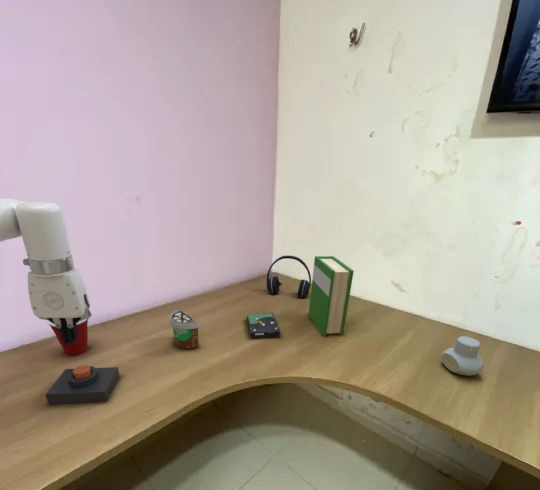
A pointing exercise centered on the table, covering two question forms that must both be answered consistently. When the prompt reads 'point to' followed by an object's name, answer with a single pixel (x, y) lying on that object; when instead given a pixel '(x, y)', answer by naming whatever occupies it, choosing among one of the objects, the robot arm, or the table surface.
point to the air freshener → (463, 357)
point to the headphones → (274, 281)
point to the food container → (184, 330)
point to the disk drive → (263, 325)
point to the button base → (83, 387)
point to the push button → (82, 372)
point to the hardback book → (330, 294)
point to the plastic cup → (79, 344)
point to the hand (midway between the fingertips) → (71, 340)
